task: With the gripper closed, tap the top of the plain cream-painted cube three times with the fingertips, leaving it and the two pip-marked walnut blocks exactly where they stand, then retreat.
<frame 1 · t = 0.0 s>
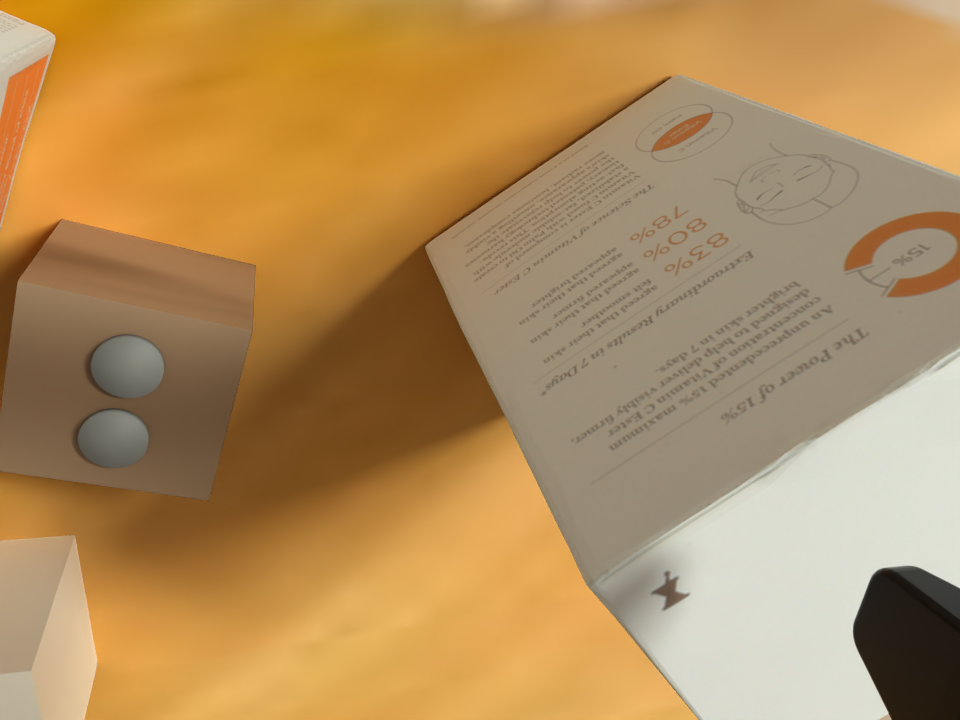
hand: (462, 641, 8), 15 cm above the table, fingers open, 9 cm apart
walnut block B: (146, 322, 21), on the table
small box: (598, 248, 23), on the table
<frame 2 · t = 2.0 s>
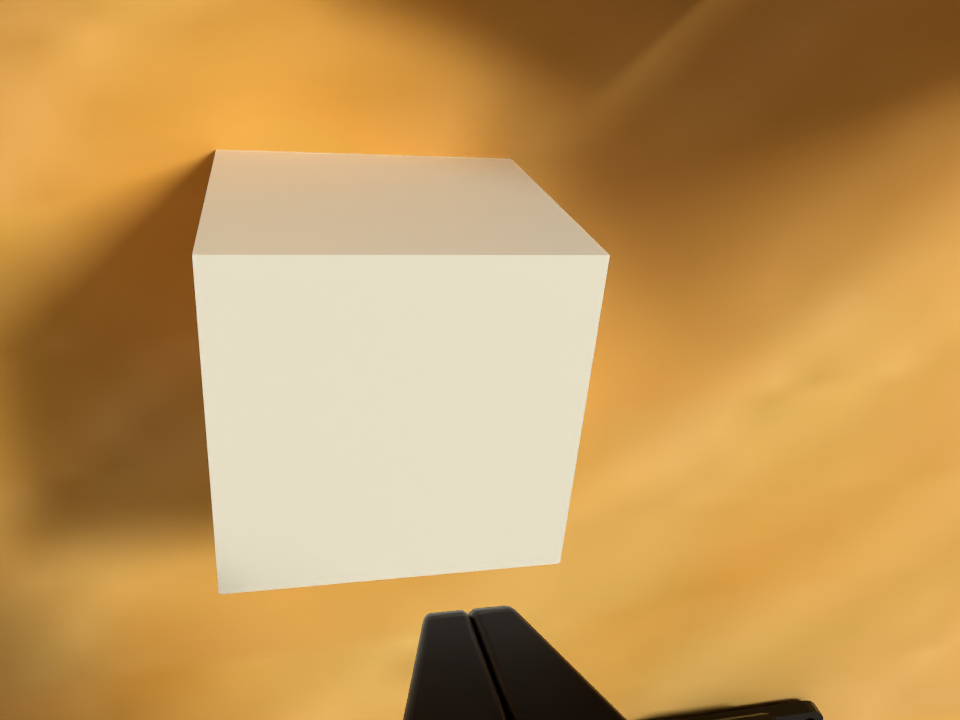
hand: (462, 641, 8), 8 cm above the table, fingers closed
cream block: (366, 288, 15), on the table
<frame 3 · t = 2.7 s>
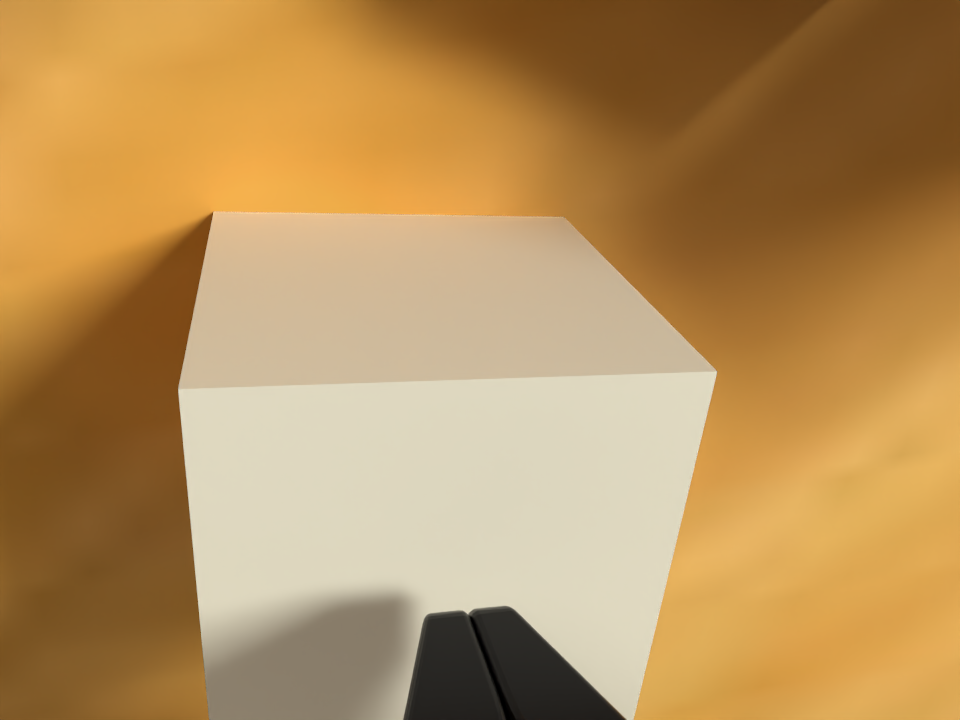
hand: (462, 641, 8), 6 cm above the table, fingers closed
cream block: (390, 367, 13), on the table
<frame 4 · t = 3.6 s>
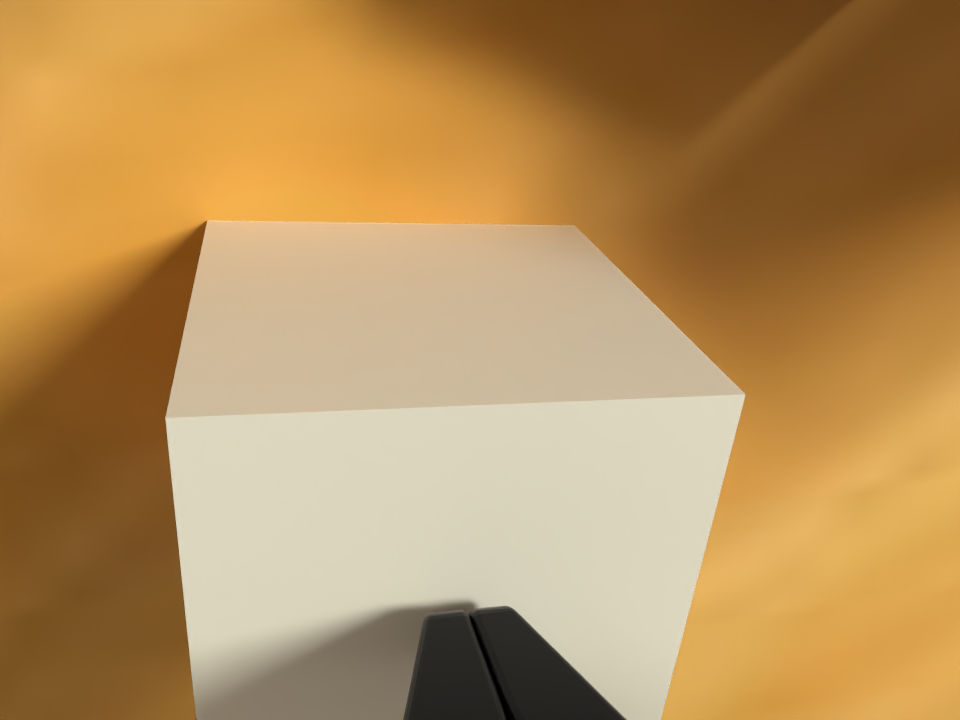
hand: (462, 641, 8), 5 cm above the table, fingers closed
cream block: (393, 381, 12), on the table
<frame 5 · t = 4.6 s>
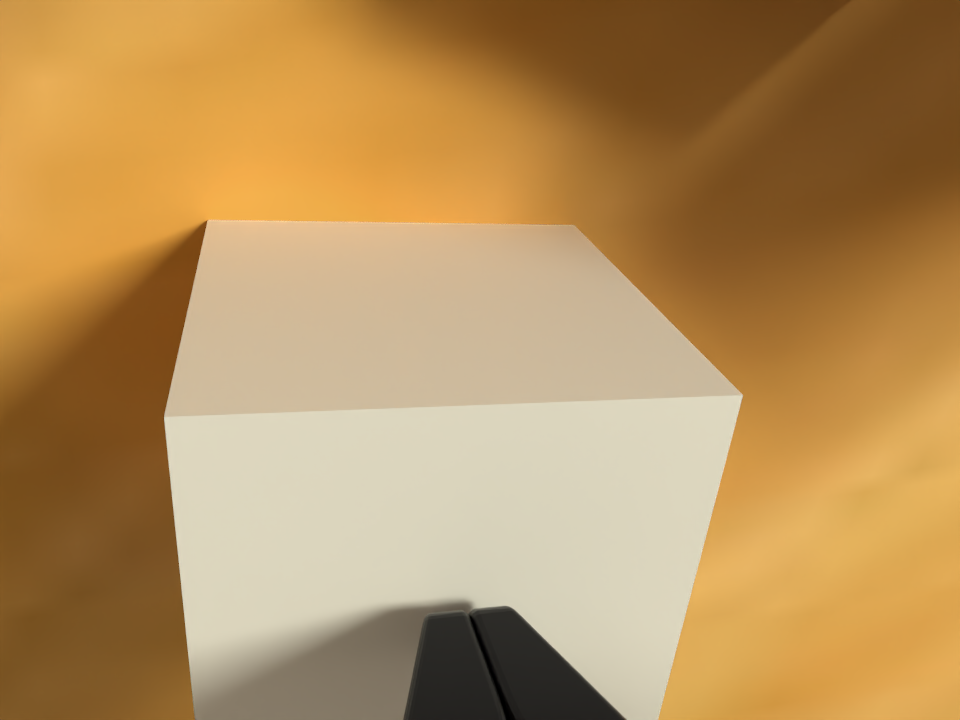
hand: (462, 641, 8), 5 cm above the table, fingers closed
cream block: (392, 380, 12), on the table
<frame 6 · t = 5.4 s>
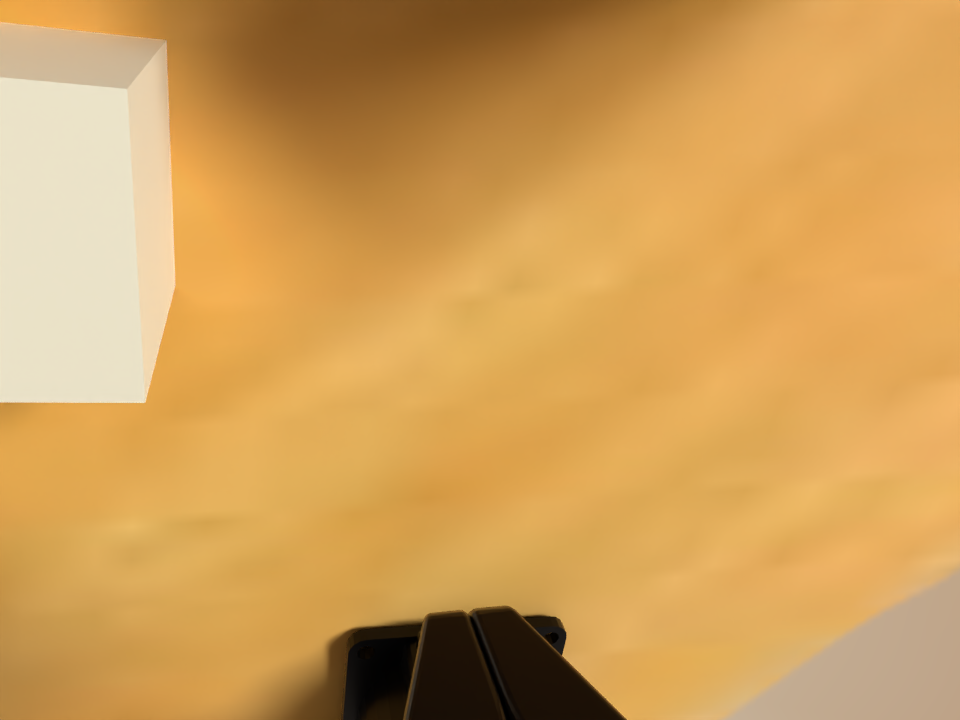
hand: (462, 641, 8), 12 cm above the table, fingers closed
cream block: (35, 160, 16), on the table
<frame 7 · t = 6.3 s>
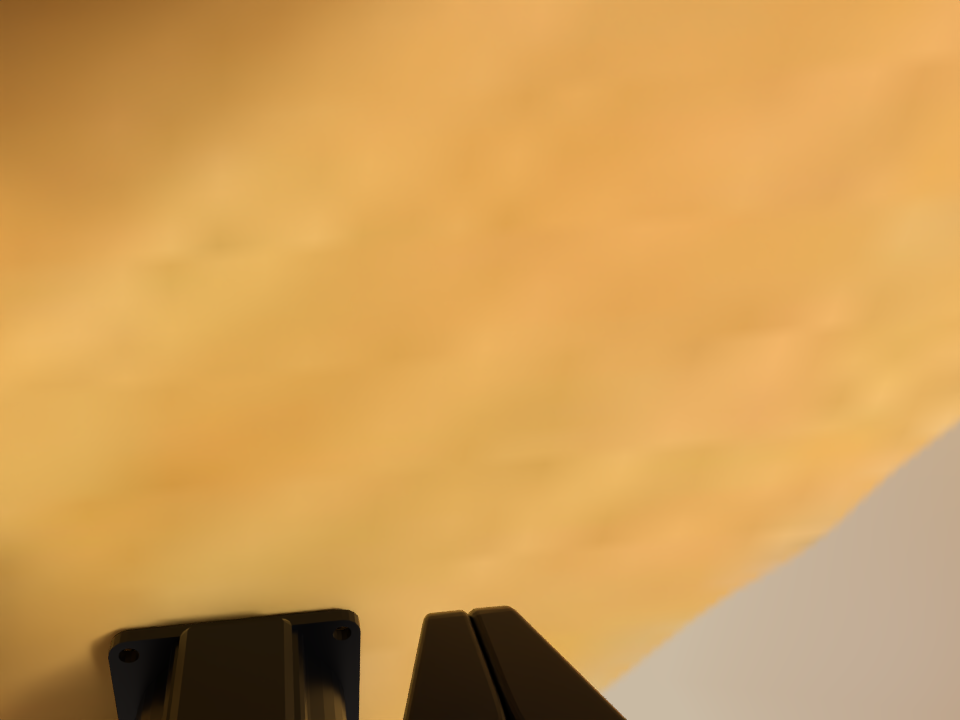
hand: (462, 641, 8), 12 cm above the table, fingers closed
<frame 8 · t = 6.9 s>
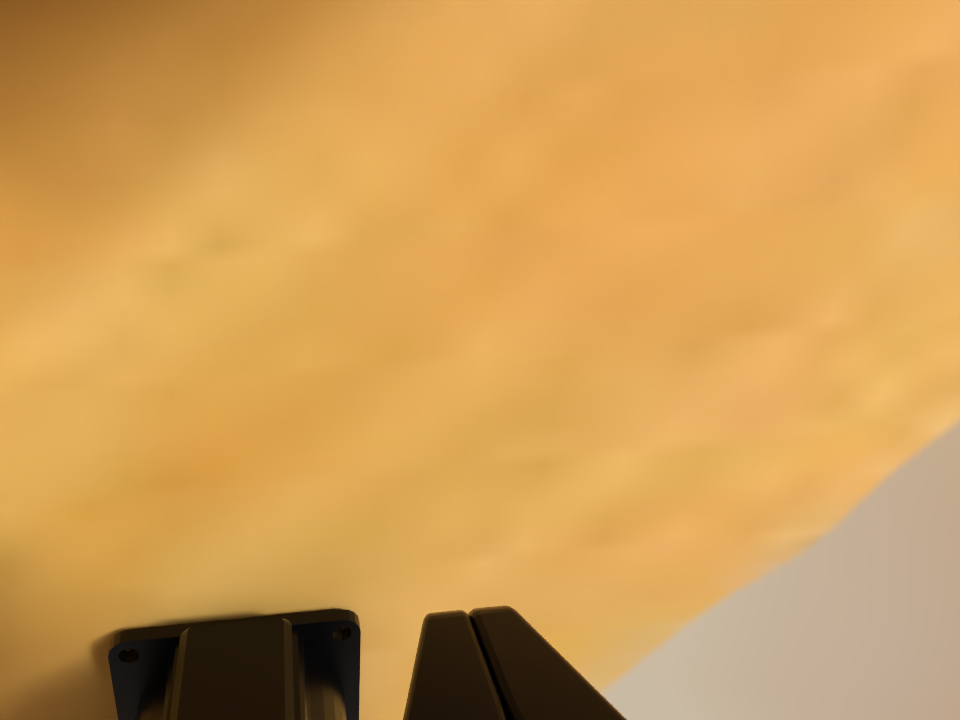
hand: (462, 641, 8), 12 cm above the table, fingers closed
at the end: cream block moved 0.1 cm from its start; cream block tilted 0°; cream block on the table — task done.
